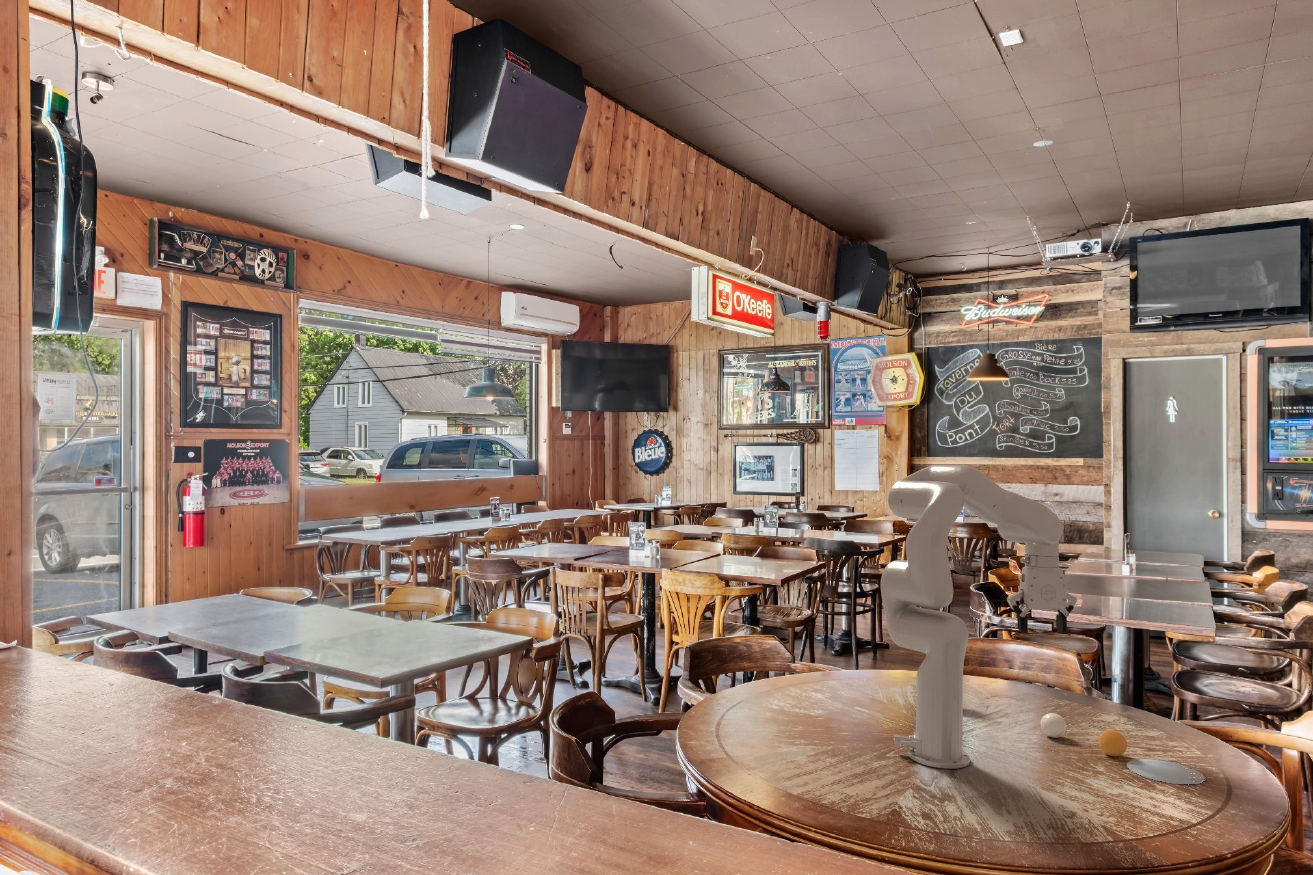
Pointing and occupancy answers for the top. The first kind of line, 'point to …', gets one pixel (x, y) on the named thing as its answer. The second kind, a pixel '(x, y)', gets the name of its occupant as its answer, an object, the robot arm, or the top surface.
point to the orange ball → (1112, 743)
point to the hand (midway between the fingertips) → (1042, 632)
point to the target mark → (1164, 771)
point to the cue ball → (1053, 725)
